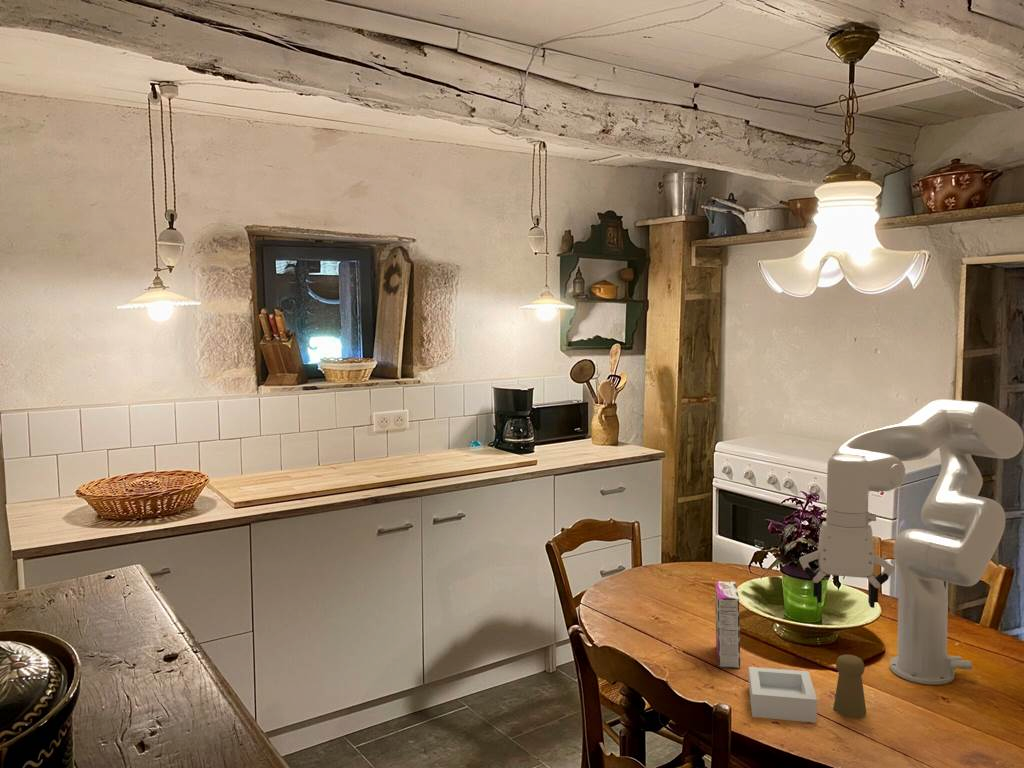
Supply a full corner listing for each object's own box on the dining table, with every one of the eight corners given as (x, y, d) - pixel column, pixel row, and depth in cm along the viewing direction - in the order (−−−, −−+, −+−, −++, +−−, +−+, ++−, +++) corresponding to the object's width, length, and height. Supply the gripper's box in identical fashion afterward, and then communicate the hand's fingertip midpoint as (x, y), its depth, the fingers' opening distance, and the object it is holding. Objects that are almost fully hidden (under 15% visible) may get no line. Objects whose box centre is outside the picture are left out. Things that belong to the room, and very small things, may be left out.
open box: (808, 694, 161) (808, 671, 161) (816, 724, 150) (817, 699, 149) (748, 689, 164) (748, 666, 164) (752, 718, 152) (752, 694, 152)
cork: (838, 699, 158) (839, 648, 157) (870, 708, 154) (870, 655, 153) (829, 712, 153) (829, 659, 152) (861, 721, 149) (862, 667, 148)
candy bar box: (714, 646, 184) (714, 580, 183) (736, 647, 183) (736, 581, 182) (717, 667, 174) (717, 597, 172) (740, 669, 173) (740, 598, 171)
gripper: (892, 516, 153) (889, 600, 154) (799, 511, 158) (797, 592, 159) (898, 526, 145) (896, 614, 147) (801, 520, 151) (799, 605, 152)
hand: (844, 602), depth 153 cm, fingers open, 9 cm apart
